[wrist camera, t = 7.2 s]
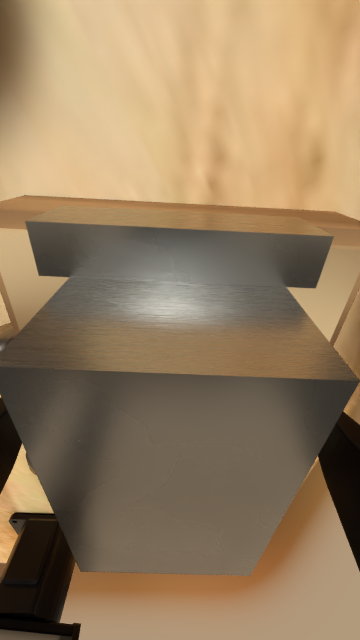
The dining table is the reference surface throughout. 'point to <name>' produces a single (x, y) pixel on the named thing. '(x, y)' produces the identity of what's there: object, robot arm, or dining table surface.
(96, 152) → the dining table surface
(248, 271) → the block
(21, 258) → the stand
